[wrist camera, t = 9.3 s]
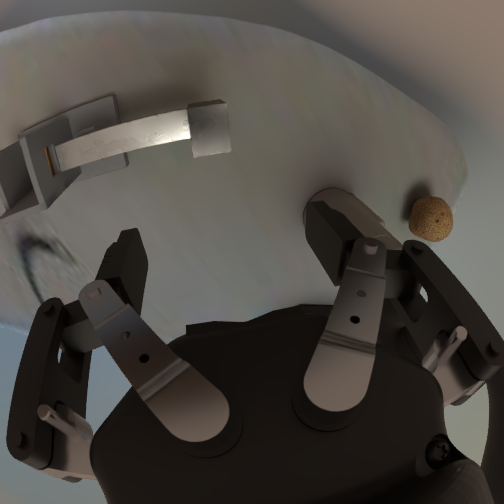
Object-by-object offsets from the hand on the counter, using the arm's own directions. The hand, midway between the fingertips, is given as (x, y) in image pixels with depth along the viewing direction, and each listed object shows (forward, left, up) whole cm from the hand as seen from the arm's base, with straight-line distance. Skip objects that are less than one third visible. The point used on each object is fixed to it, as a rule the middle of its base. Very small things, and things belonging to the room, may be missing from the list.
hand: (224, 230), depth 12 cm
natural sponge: (-39, +16, -26) cm, 50 cm away
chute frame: (+18, -3, -25) cm, 31 cm away
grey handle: (+7, -3, -18) cm, 19 cm away
